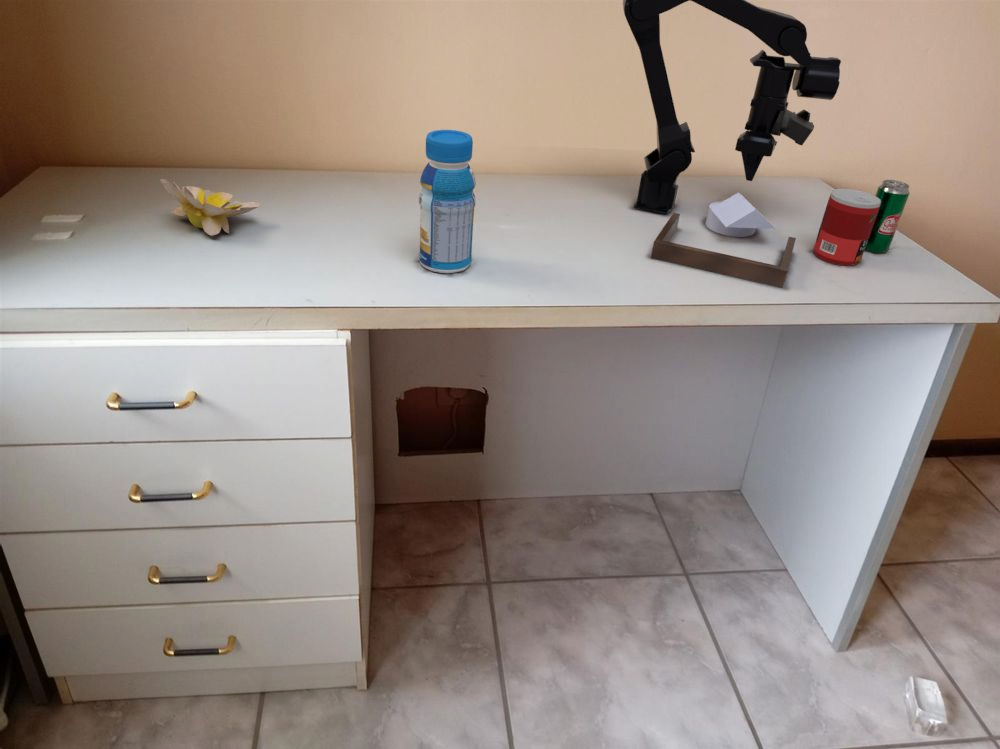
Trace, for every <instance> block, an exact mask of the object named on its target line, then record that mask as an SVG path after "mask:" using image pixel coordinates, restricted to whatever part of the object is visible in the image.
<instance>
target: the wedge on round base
mask: <svg viewBox="0 0 1000 749" xmlns="http://www.w3.org/2000/svg"><path fill="white" fill-rule="evenodd" d="M705 226H706V227H707V229H709V230H710V231H712V232H714V233H716V234H720V235H722V236H728V237H732V238H733V237H734V238H738V237H739V238H746V237H750V236H753V235H754V234H755V233H756V231H757V230H756V229H767V230H768V229H769V230H776V227H774V226H773V224H772V223H771V222H770V221H769V220H768V219H767V218H766V217H765V216H764V215H763V214H762V213H761V212H760V211H759V210H758V209H757V208H756V207H755V206H754V205H753V204H752V203H750V201H749V200H747V199H746V198H745V196H743V195H742V193H741V192H739V191H738V192H736V193H735V194H733V195H732V196H730V197H728V198H727V199H725V200H717V201H714V202H711V203H710V204H709V206H708V210H707V215H706V219H705Z"/></svg>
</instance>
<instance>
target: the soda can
mask: <svg viewBox="0 0 1000 749" xmlns="http://www.w3.org/2000/svg"><path fill="white" fill-rule="evenodd" d="M881 182H882V183H881V184H880V185H878V187H877V189H876V193H875V195H874V196H876V197H878V198H879V199H880V200H881V203H880V208H879V211H878V214H877V216H876V219H875V222H874V225H873V228H872V231H871V233H870V236H869V239H868V242H867V245H866V247H865V250H864V251H867V252H870V253H874V254H884V253H886V252H887V251H889V250H890V247H891V245H892V243H893V241H894V237H895V234H896V231H897V229H898V226H899V223H900V221H901V218H902V215H903V213H904V209H905V208H906V205H907V202H908V198H909V196H910V190H909V189H910V185H909V184H908V183H906V182H904V181H899V180H895V179H884V180H882V181H881Z"/></svg>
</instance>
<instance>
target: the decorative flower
mask: <svg viewBox="0 0 1000 749" xmlns="http://www.w3.org/2000/svg"><path fill="white" fill-rule="evenodd" d="M159 182H160V183H161V184H162V186H163V187H164V188H165V190H166V191H167V192H168V193H169V195H170V196H171V197H173V199H174V200H176V201H177V202H178V203H179V204H180V205H179V206H177V207H176V209H175V210H173V211H171V212H170V213H172V214H174V215H177V216H179V217H184V216H187V218H188V220H189V222H190V223H191V225H192V226H194V227H196V228H198V229H203V231H204V232H205V233H206V234H207V235H209V236H216V235H218V234H220V232H221V230H222V229H223V231H224V232H225V233H227V234H230V225H229V220H228V218H230V217H236V216H240V215H243V214H247V213H249V212H251V211H253V210H256V209H257V208H260V207H261V204H259V203H258V202H252V201H250V202H249V201H248V202H242V203H241V202H240V201H237V200H235V201H230V200H231V199H232V198H233V195H234V194H231V193H229V192H224V191H222V192H220V191H219V192H213V191H211V190H208V189H202V188H201V187H199V186H193V185H187V186H185V185H182V190H181V189H180V187H179V186H178V184H177V183H176V182H175V181H172V183H171V182H169V181H168V180H167V179H165V178H161V179H159Z"/></svg>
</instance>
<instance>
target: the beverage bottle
mask: <svg viewBox="0 0 1000 749" xmlns="http://www.w3.org/2000/svg"><path fill="white" fill-rule="evenodd" d="M473 144H474V142H473V136H472V135H471V134H469V133H468V132H464V131H461V130H456V129H455V130H454V129H437V130H432V131H430V132H428V133H427V134H426V138H425V158H426V159H427V160H428V162H427V164H426V165H425V166H424V169H423V170H422V171H421V172H422V173H421V176H420V181H419V183H420V186H421V187H422V188H421V190H420V192H419V196H418V203H419V205H420V206H419V254H418V255H419V257H418V258H419V263H420V264H421V266H422V267H423V268H425V269H427V270H429V271H431V272H434V273H440V274H454V273H458V272H459V273H460V272H463V271H465V270H467V269H468V268H469V267H470V266H471V264H472V259H473V258H472V256H473V255H472V250H473V232H474V217H475V216H474V215H475V207H476V195H475V193H474V189H475V187H476V186H477V184H476V178H475V174H474V172H473V169H472V167H471V166H470V164H469V162H471V160H472V157H473Z"/></svg>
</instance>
